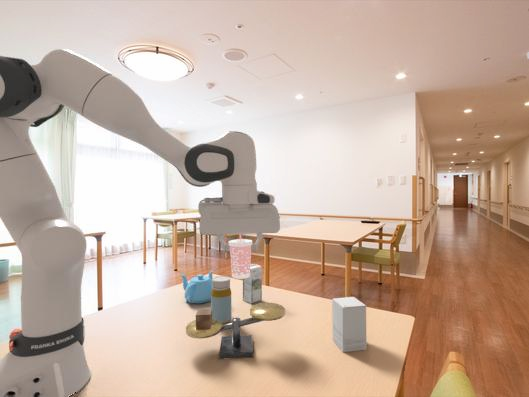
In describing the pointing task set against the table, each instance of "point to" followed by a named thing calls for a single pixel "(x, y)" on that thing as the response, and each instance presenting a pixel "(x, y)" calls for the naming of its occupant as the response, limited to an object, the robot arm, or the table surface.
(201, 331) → the balance
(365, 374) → the table surface
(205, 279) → the teapot
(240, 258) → the beverage cup
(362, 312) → the supplement box
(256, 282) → the syrup box
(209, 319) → the walnut block
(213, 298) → the bottle
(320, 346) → the table surface
